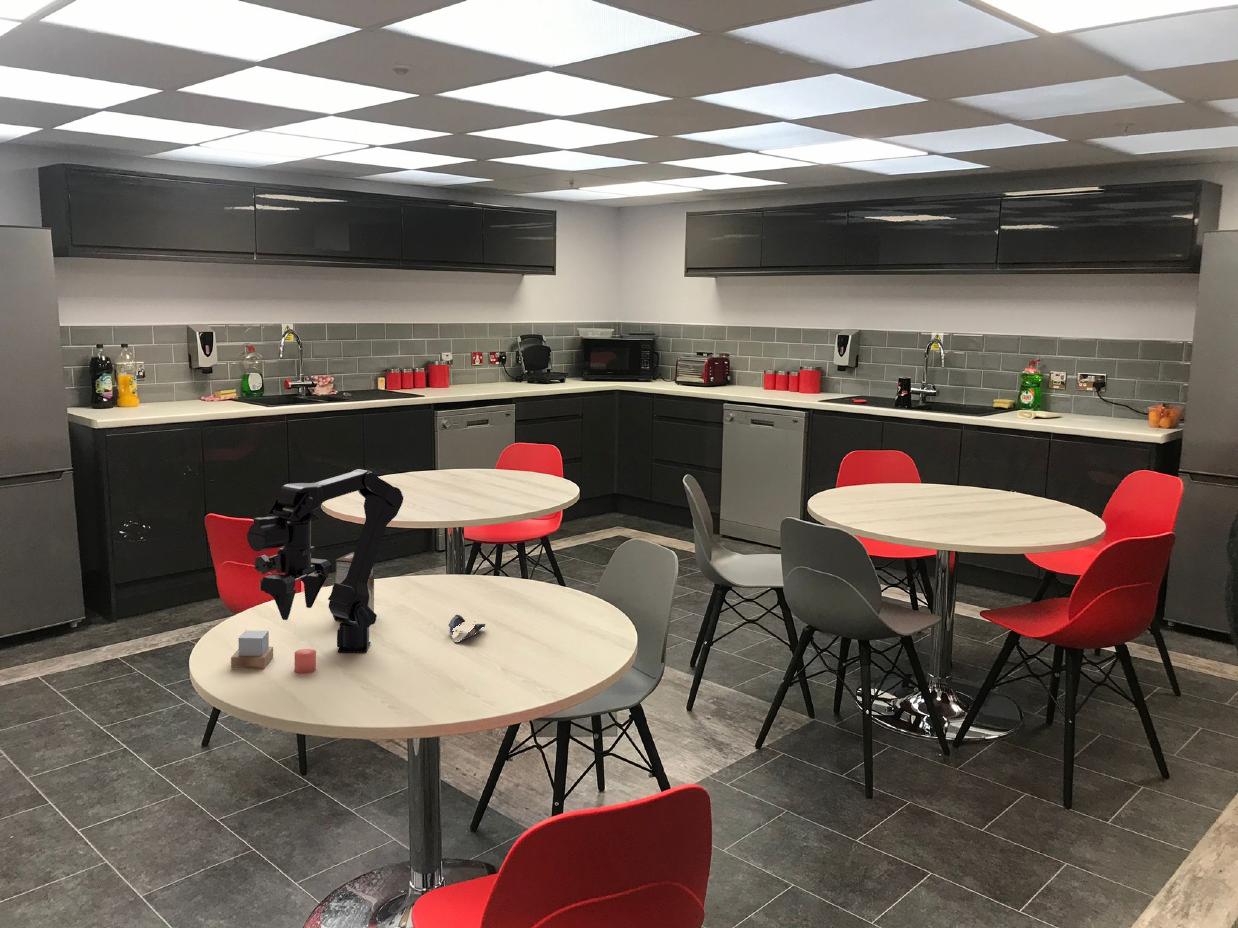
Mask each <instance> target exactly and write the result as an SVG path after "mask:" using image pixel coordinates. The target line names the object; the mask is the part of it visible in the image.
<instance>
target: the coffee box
mask: <svg viewBox="0 0 1238 928" xmlns="http://www.w3.org/2000/svg"><path fill="white" fill-rule="evenodd" d="M354 553H355V551H352V552H350V553H347V554H345V555H343V556H340V557H338V558H336V559H335V583H338V584H340V583H341V582H342V581H343V580H344V579H345V578H346V576H347V574H348V571H349V568H350V565H351V562H352V559H353V556H354ZM367 586H368V591H369V602H368V607H369V608H370V609H371V610H372V611H373V612H374V613H375V564H374V565H373V568H372V571H371V574H370V577H369V580H368V583H367Z"/></svg>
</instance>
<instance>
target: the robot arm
mask: <svg viewBox="0 0 1238 928" xmlns="http://www.w3.org/2000/svg"><path fill="white" fill-rule="evenodd" d="M354 492H358V493H359V495H360V496H361V497H363V498H364V504H363V510H364V515H365V521H364V524H363V527H362V529H361V533H360V536H359V538H358V541H357V543H356V544H357V545H356V546H355V551H354V552H355V553H354V556H353V559H352V562H351V565H350V568H349V571H348V574H347V576H346V578H345V579H344V580H343V581H342V582H341V583H340V584H338V583H336V582H334V583H333V585H332V589H331V593H330V595H329V596H328V598H327V600H328V601H329V603H328V609H329V611H330V614H331V615H332V618H333V620H334V622H339V627H338V628H337V630H336V636H337V637H336V647H337V648H338V649H337V652H338V653H367V652H368V651H369V648H370V646H371V643H372V642H371V641H370V627H371V626H372V625H375V624H376V619H377V617H378V615H377V614H376V613H375V611H374V612H373V611H372V610H371V609H370V608H369V607H368V602H369V591H368V586H367V583H368V580H369V577H370V574H371V571H372V568H373V565H374V566H375V561H376V558H377V555H378V552H379V549H380V546H381V544H382V540H383V537H384V534H385V531H386V529H387V526H388V525H389V524H390V523H391V521H392V520H393V519H395V518H396V516H397V515H398V513H399V511H400V510H401V508H402V505H403V502H404V495H403V492H402V490H401V489H400V488H399V487H396V486H393V485H391V484H390V483H389V482H387V481H385V480H384V479H382V478H381V477H378V476H377V475H376V474H375V473H373V472H372V471H371V470H367V469H361V468H358V469H355V470H352V471H351V472H347V473H343V474H340V475H337V476H334V477H330V478H327V479H323V480H319V481H317V482H311V483H310V482H308V483H307V482H298V483H297V482H296V483H286V484H284V485H282V486H281V487H280V490H279V491H278V493H277V496H276V498H275V500H274V501H273V503H272V504H271V506H270V509H269V510H268V512H267V513H266V516H265V517H254V518H253V524H250V526H249V528H248V531H247V533H246V540H247V543H248V545H249V548H251V549H252V551H253V552H257V553H258V552H262V551H266V550H267V551H268V550H271V549H278V550H277V551H276V552H277V554H274V555H271V556H268V555H266V554H263V555H260V556H257V557H255V559H254V569H255V571H256V572H258V573H260V575H261V576H263V575H266V574H267V573H271V572H275V573H271V574H268V575H266V576H264V577H262V578H261V579H260V581H259V591H261V592H264V593H265V594H267V595H269V596H271V597H272V599H273V600H274V602H275V604H276V608H277V609H278V613H279V615H280V617H281V620H283V621H288V620H289V617H290V614H291V611H292V607H293V603H294V601H295V600H294V599H295V595H296V592H297V590H296V589H295V587H296V581H298V580H301V582H302V583H303V590H304V599H305V600H304V602H305V607H306V608H307V609H311V608H312V607H313V605H314V603H315V601H316V599H317V597H318V595H319V593H320V591H321V589H322V587H323V585H324V584H325V582H326V580H327V579H328V578H329V574H331V573H332V572H333V571H332V567H333V566H332V563H331V562H330V561H329V559H324V558H323V559H322V558H314V557H313V558H312V553H314V552H316V546H313V545H312V540H311V539H312V532H311V531H312V523H311V522H317V521H319V520H320V516H318V515H317V514H315V513H314V511H315V510H316V509H319V508H320V507H321V505H322V504H323V503H325V502H326V501H329V500H332V499H335V498H339V497H342V496H345V495H349V494H352V493H354Z"/></svg>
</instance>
